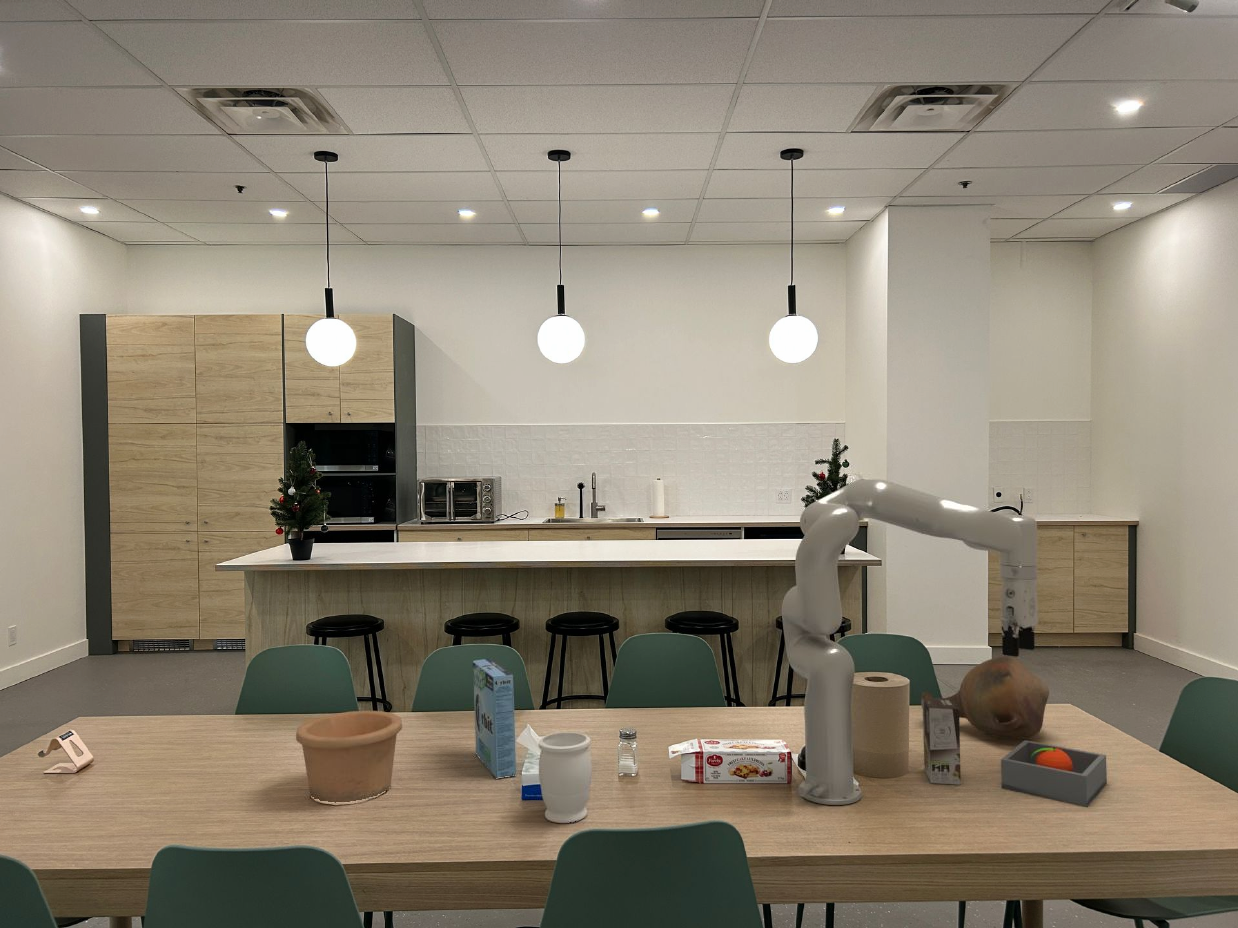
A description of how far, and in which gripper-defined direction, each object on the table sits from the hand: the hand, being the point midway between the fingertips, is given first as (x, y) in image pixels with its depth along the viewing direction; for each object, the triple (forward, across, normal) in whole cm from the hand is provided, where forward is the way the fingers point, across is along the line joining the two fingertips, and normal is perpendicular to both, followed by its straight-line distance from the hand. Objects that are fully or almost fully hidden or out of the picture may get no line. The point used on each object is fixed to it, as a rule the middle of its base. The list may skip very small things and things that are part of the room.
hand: (1018, 652), depth 184 cm
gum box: (+30, -70, +93) cm, 120 cm away
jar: (+29, -79, +59) cm, 103 cm away
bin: (+26, -2, -8) cm, 28 cm away
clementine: (+26, -3, -7) cm, 27 cm away
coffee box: (+27, -11, +12) cm, 32 cm away
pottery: (+30, -100, +104) cm, 148 cm away
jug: (+27, +25, +17) cm, 40 cm away
